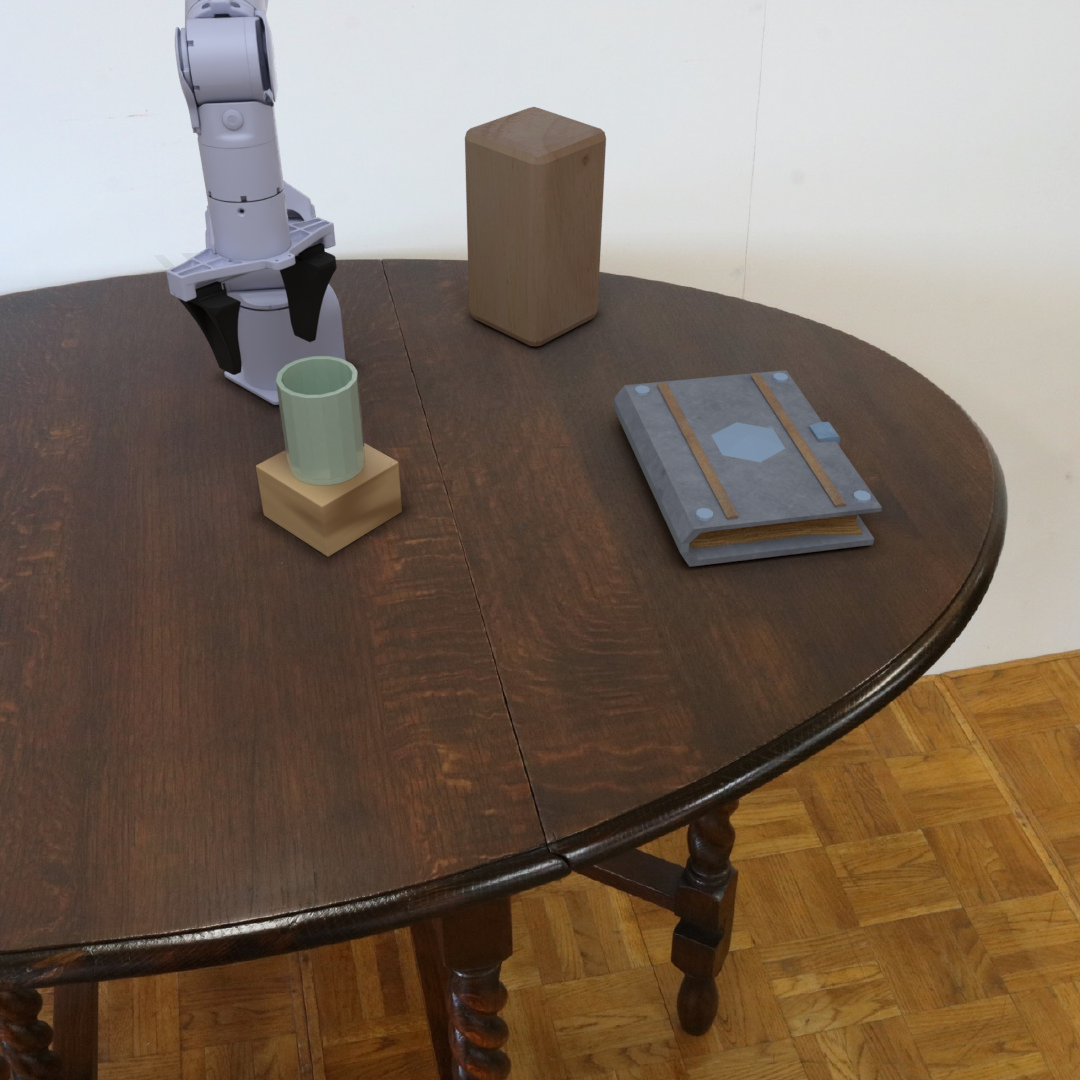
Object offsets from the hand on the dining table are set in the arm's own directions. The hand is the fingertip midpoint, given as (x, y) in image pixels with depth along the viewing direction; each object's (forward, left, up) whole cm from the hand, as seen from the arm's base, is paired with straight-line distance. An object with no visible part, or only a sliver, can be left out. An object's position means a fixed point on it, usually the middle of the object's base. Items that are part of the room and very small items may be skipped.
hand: (268, 353), depth 97 cm
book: (-24, +31, -11) cm, 41 cm away
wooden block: (-34, -1, -11) cm, 35 cm away
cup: (+2, +9, -5) cm, 11 cm away
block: (+2, +9, -10) cm, 14 cm away
